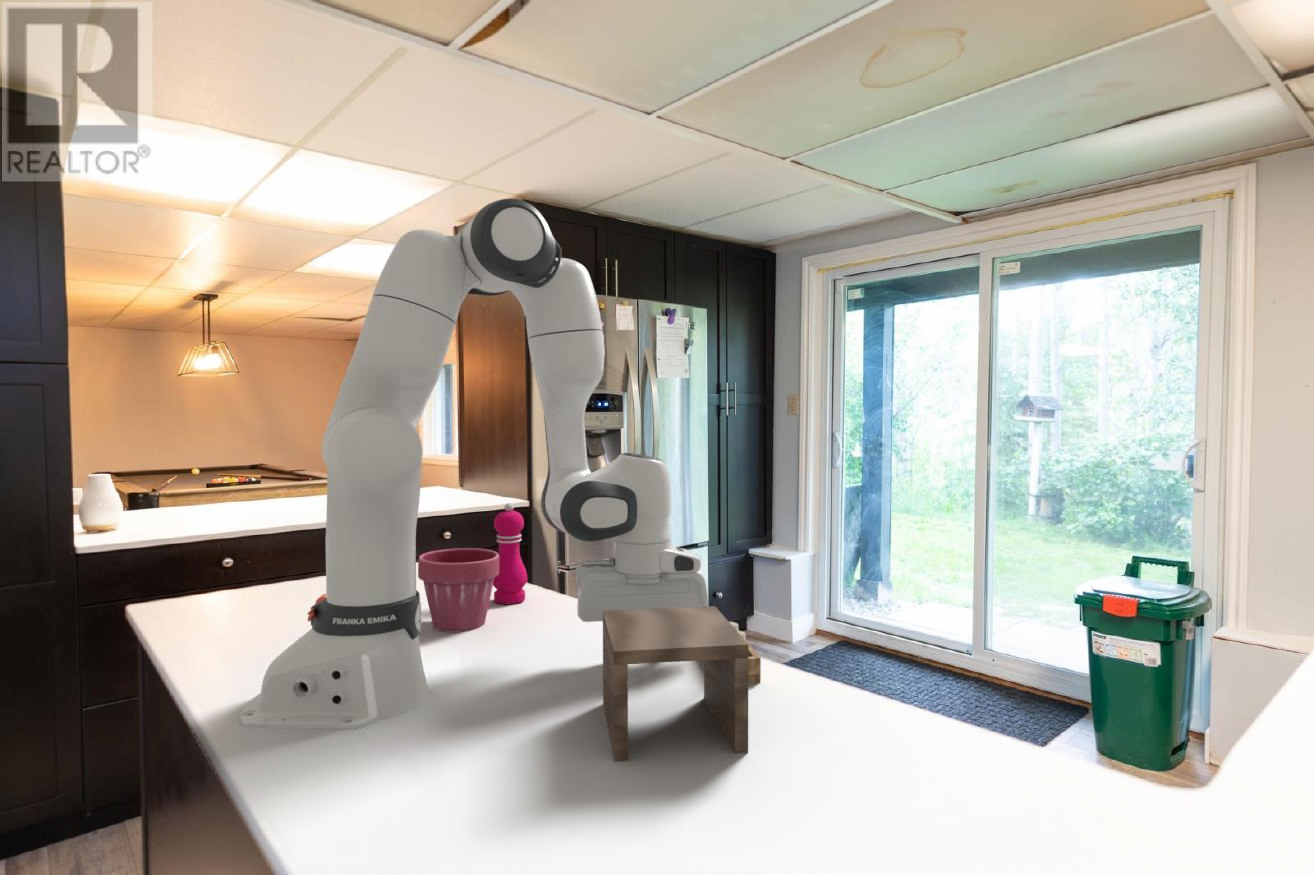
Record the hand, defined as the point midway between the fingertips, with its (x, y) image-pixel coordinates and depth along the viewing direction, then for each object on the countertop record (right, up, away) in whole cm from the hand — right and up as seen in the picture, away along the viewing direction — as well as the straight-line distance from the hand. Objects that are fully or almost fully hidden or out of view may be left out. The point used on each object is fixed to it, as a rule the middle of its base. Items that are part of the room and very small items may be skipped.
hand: (642, 646), depth 110 cm
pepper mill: (-28, -1, +36) cm, 45 cm away
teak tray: (+13, -2, -1) cm, 13 cm away
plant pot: (-34, -2, +19) cm, 38 cm away
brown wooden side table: (+4, -3, -24) cm, 25 cm away
